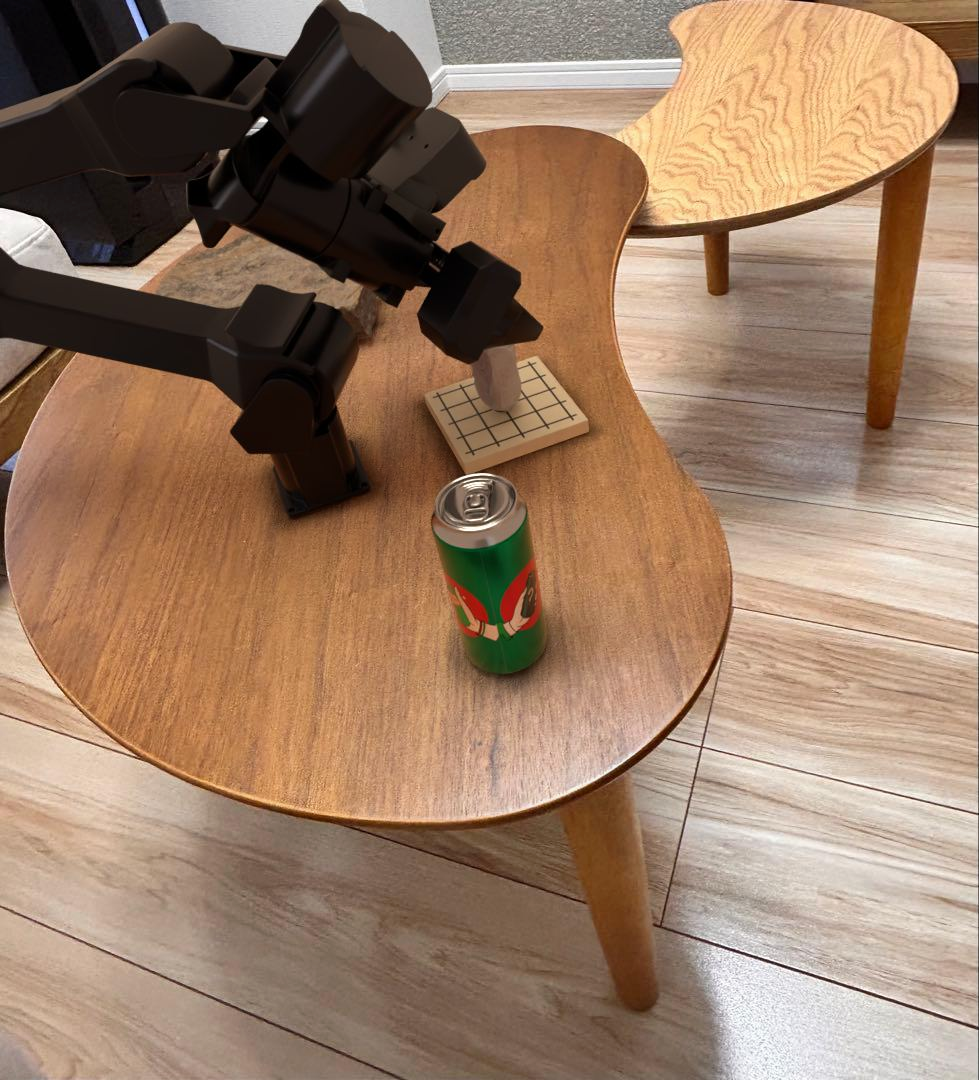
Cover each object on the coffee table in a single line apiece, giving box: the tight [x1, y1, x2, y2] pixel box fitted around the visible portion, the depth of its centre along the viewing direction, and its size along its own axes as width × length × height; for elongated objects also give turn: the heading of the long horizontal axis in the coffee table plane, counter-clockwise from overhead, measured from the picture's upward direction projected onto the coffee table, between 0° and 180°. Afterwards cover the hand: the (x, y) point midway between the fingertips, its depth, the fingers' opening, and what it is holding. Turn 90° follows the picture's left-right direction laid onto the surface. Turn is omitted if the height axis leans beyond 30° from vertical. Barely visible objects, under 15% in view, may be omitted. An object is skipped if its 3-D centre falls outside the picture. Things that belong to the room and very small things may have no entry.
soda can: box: [430, 472, 548, 675], centre depth 48 cm, size 5×5×12 cm
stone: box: [155, 231, 379, 340], centre depth 86 cm, size 21×19×4 cm
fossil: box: [469, 344, 521, 411], centre depth 64 cm, size 6×4×10 cm, turn 21°
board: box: [423, 355, 590, 476], centre depth 68 cm, size 10×10×1 cm
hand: (504, 307), depth 62 cm, fingers open, 9 cm apart
